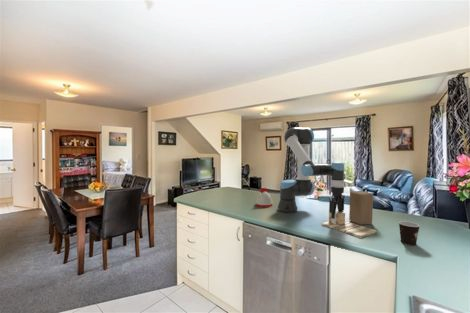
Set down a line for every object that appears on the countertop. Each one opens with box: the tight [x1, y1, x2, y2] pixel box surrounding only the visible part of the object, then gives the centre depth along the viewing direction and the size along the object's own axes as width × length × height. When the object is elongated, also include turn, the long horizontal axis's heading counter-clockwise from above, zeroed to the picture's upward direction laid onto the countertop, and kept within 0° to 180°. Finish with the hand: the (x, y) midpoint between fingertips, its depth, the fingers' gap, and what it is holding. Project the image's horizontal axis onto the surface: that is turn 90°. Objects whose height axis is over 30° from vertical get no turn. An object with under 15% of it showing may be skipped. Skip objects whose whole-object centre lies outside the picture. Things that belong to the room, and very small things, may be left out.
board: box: [321, 220, 377, 239], centre depth 142 cm, size 25×16×1 cm, turn 34°
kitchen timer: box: [255, 187, 273, 208], centre depth 198 cm, size 14×14×15 cm
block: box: [348, 190, 374, 226], centre depth 154 cm, size 10×10×20 cm
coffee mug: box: [398, 220, 420, 247], centre depth 121 cm, size 12×9×10 cm
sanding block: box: [328, 210, 346, 226], centre depth 148 cm, size 8×5×7 cm, turn 34°
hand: (336, 222), depth 149 cm, fingers closed on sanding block, 5 cm apart
